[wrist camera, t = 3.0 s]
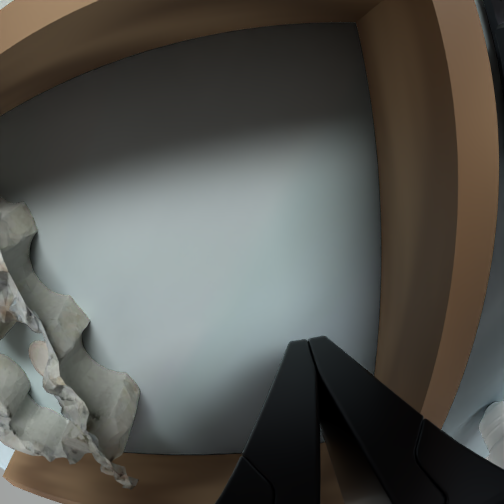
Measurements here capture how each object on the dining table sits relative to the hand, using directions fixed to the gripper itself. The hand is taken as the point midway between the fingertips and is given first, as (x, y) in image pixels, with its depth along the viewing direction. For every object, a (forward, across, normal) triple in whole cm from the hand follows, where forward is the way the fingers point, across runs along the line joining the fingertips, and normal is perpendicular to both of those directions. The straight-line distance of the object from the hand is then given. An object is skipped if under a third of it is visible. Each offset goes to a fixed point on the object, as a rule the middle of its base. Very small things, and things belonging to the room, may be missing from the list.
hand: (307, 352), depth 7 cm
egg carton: (+2, +10, 0) cm, 10 cm away
